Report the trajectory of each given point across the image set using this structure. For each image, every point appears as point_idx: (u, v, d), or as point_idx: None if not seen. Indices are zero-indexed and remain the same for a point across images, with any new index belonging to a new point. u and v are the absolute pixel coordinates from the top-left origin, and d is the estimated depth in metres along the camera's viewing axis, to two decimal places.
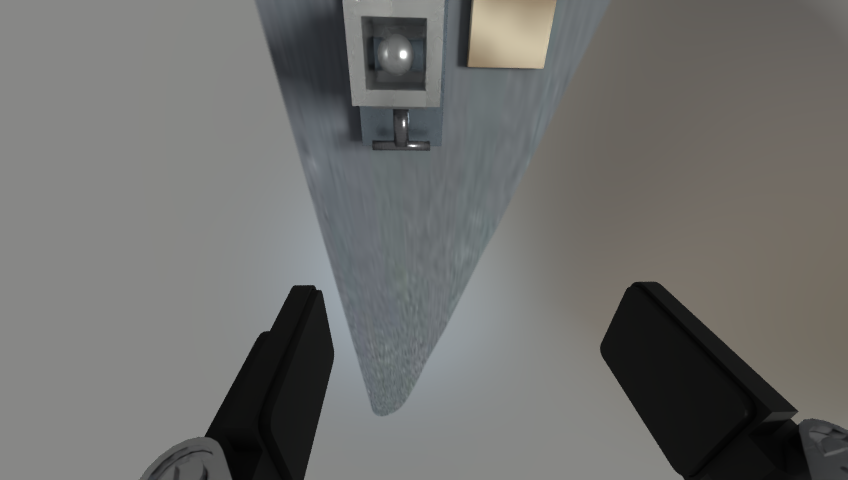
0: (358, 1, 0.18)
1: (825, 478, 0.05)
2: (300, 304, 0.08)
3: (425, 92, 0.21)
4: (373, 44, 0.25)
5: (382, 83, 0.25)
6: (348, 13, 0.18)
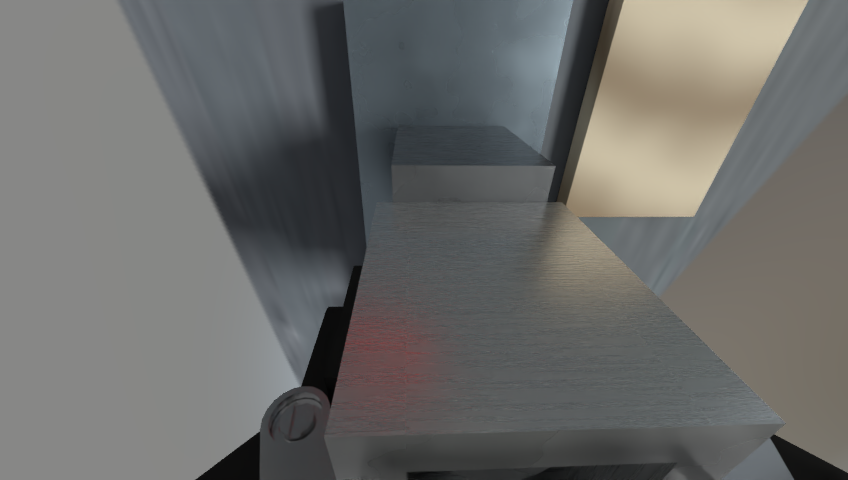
0: (400, 446, 0.04)
1: None
2: None
3: None
4: None
5: None
6: (353, 470, 0.04)
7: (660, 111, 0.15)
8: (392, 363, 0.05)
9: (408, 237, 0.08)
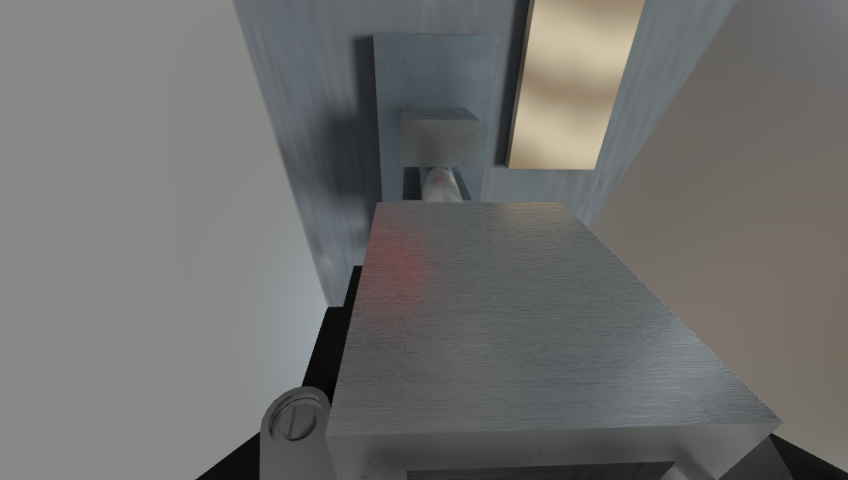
0: (400, 445, 0.04)
1: None
2: None
3: None
4: None
5: None
6: (354, 469, 0.04)
7: (560, 99, 0.25)
8: (392, 363, 0.05)
9: (408, 237, 0.08)
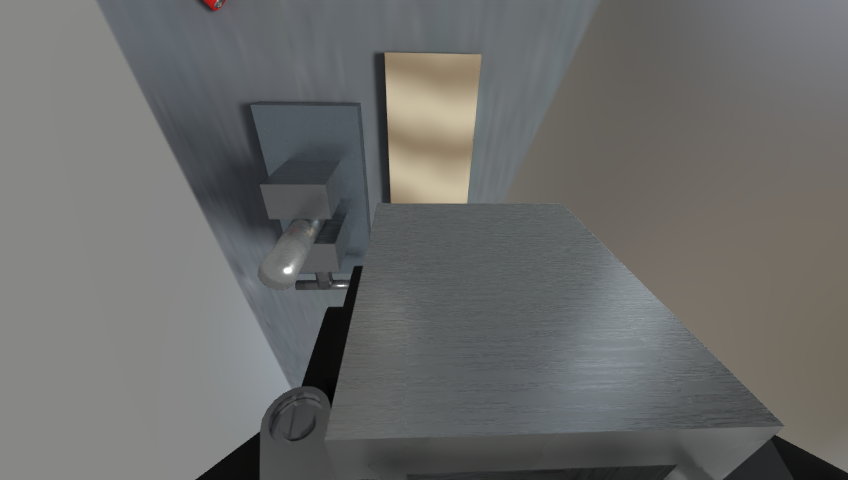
0: (400, 449, 0.04)
1: None
2: None
3: None
4: None
5: None
6: (354, 474, 0.04)
7: (424, 153, 0.30)
8: (392, 365, 0.05)
9: (408, 239, 0.08)
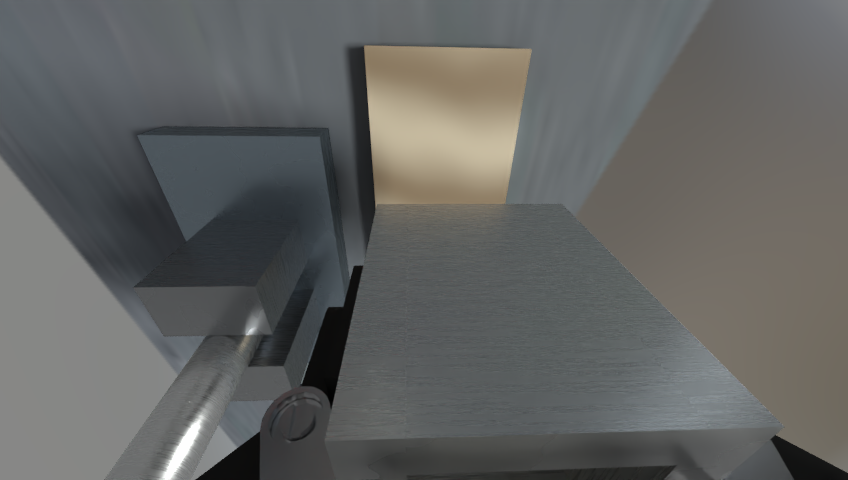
0: (400, 450, 0.04)
1: None
2: None
3: None
4: None
5: None
6: (354, 473, 0.04)
7: None
8: (392, 366, 0.05)
9: (408, 239, 0.08)
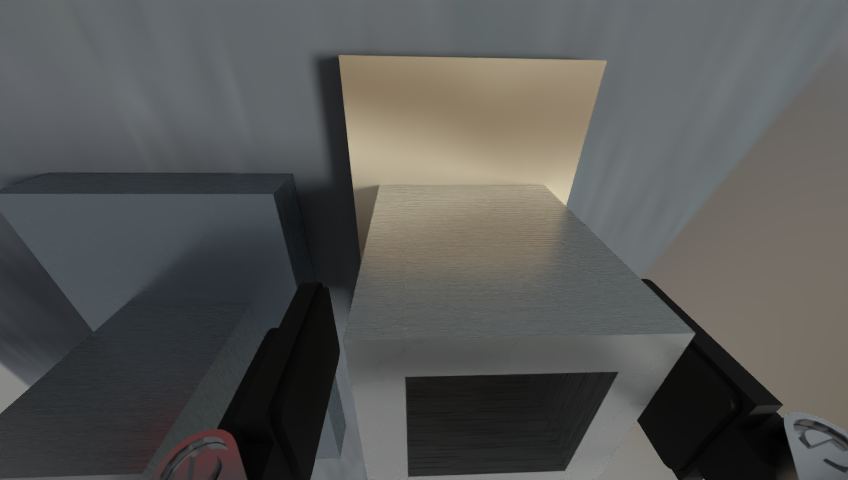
0: (400, 351, 0.05)
1: (810, 471, 0.05)
2: (308, 300, 0.08)
3: (563, 472, 0.08)
4: None
5: None
6: (364, 375, 0.06)
7: None
8: (394, 296, 0.06)
9: (407, 211, 0.09)
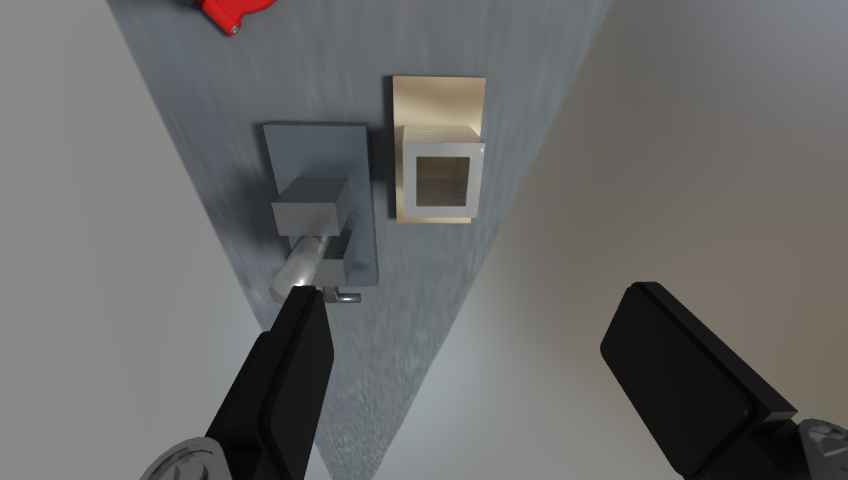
0: (415, 146, 0.22)
1: (825, 478, 0.05)
2: (300, 304, 0.08)
3: (465, 207, 0.25)
4: None
5: (423, 184, 0.29)
6: (406, 155, 0.23)
7: (430, 170, 0.30)
8: (413, 139, 0.23)
9: (416, 129, 0.26)
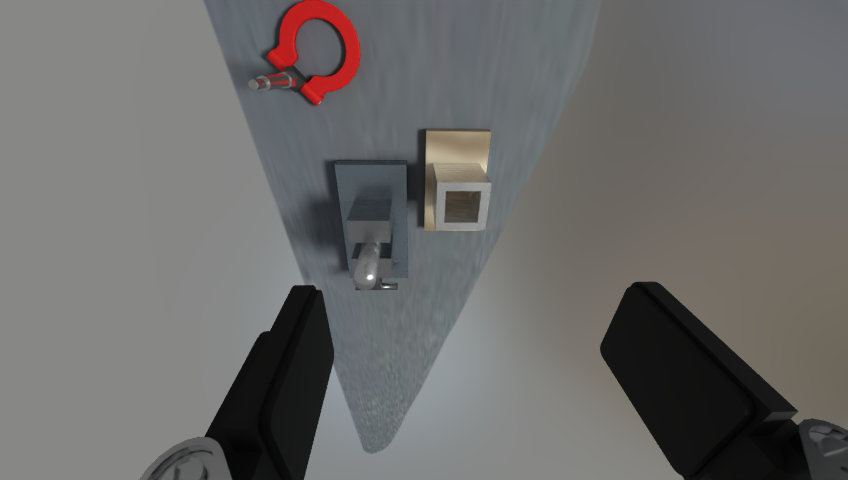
0: (445, 185, 0.34)
1: (825, 478, 0.05)
2: (300, 304, 0.08)
3: (477, 223, 0.37)
4: None
5: (445, 204, 0.41)
6: (439, 190, 0.34)
7: (450, 193, 0.42)
8: (443, 179, 0.35)
9: (442, 168, 0.38)
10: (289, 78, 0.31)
